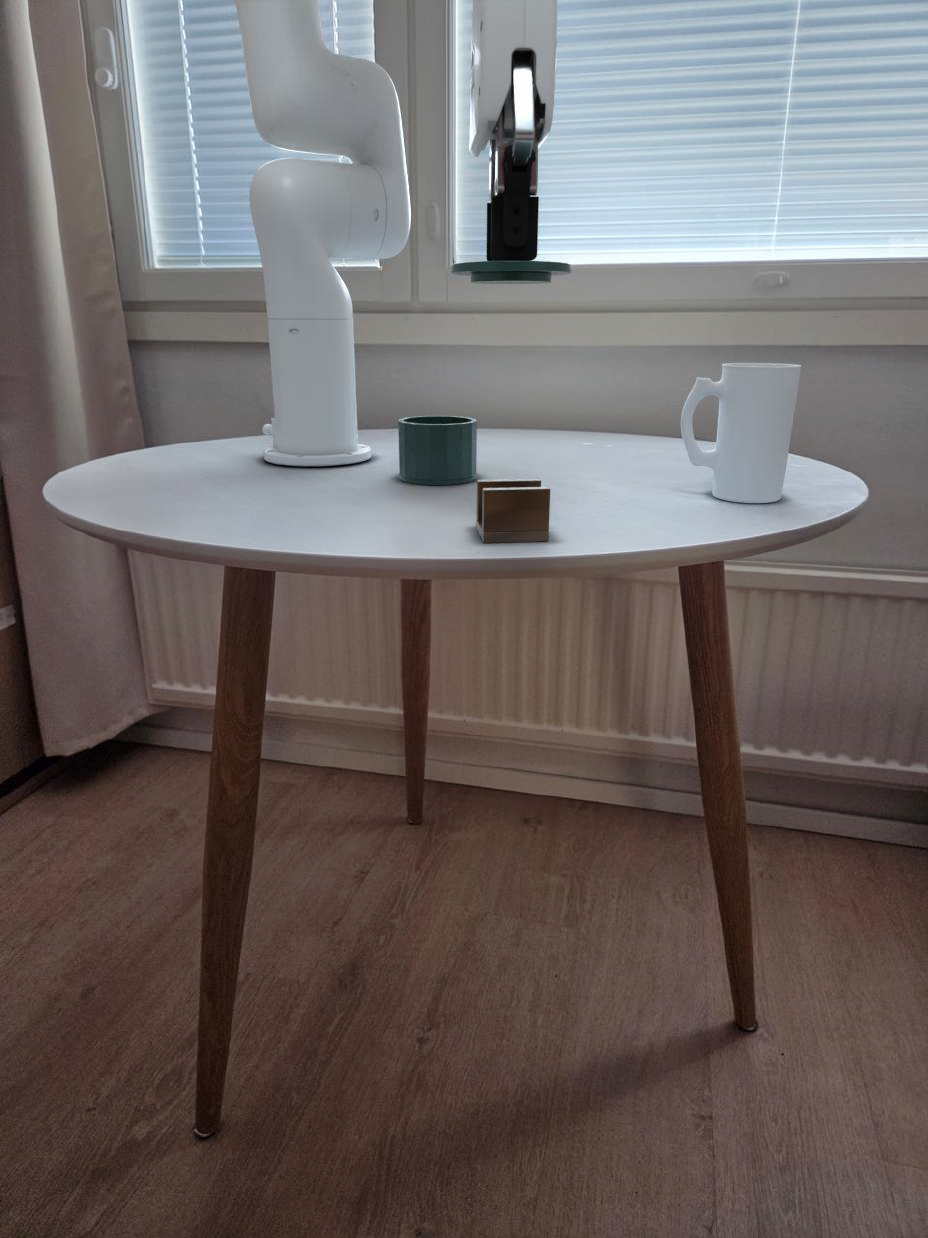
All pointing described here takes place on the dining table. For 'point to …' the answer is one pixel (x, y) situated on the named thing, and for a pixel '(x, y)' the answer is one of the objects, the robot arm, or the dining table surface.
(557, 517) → the dining table surface
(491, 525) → the rack
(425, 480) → the pot
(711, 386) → the mug
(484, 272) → the lid
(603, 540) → the dining table surface
